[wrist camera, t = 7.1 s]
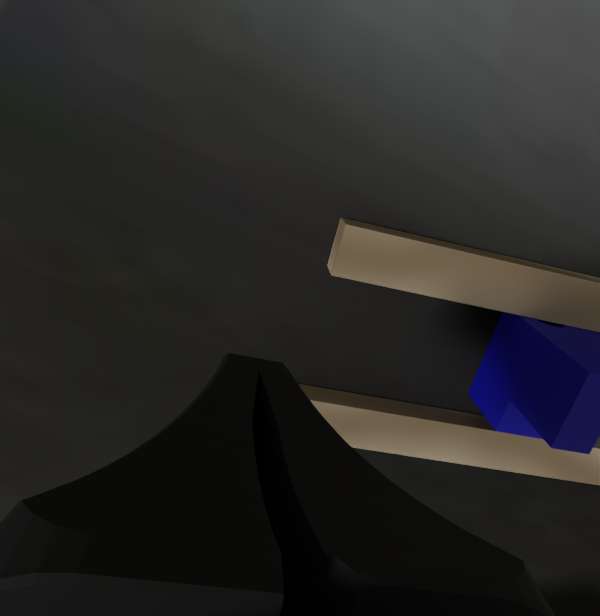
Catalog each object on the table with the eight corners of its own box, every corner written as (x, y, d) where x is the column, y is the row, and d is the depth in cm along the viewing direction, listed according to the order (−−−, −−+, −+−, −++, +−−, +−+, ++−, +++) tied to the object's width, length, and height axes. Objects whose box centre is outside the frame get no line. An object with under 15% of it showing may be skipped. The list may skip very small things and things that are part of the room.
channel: (678, 483, 26) (737, 537, 23) (284, 420, 23) (289, 473, 19) (782, 320, 23) (869, 356, 20) (340, 217, 19) (358, 240, 16)
